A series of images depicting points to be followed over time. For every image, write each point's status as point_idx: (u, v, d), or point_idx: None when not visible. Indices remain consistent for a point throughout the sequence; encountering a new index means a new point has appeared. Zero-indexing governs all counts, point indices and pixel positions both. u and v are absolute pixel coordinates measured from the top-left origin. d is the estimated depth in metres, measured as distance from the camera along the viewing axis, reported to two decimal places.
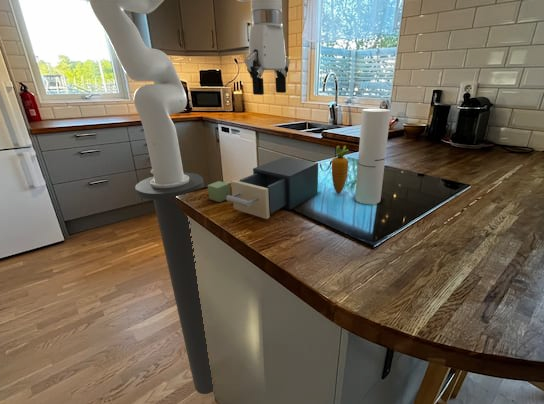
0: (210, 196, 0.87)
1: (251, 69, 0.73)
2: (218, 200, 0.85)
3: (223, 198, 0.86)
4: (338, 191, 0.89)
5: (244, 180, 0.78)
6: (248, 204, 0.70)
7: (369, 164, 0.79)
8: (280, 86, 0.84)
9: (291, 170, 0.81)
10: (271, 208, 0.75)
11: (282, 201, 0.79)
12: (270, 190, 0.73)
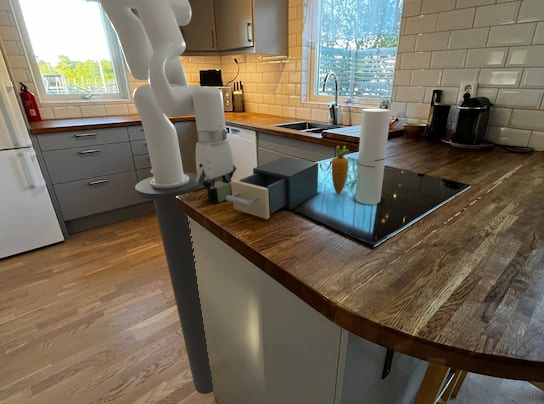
0: None
1: (204, 185, 0.82)
2: (218, 200, 0.85)
3: (223, 198, 0.86)
4: (338, 191, 0.89)
5: (244, 180, 0.78)
6: (248, 204, 0.70)
7: (369, 164, 0.79)
8: None
9: (291, 170, 0.81)
10: (271, 208, 0.75)
11: (282, 201, 0.79)
12: (270, 190, 0.73)
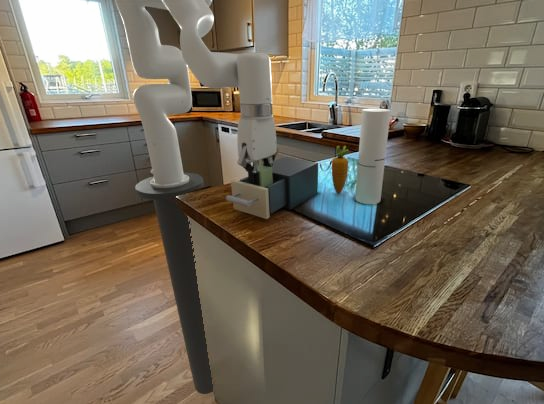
0: None
1: (247, 167, 0.71)
2: (260, 186, 0.75)
3: (266, 184, 0.76)
4: (338, 191, 0.89)
5: (244, 180, 0.78)
6: (248, 204, 0.70)
7: (369, 164, 0.79)
8: None
9: (291, 170, 0.81)
10: (271, 208, 0.75)
11: (282, 201, 0.79)
12: (270, 190, 0.73)
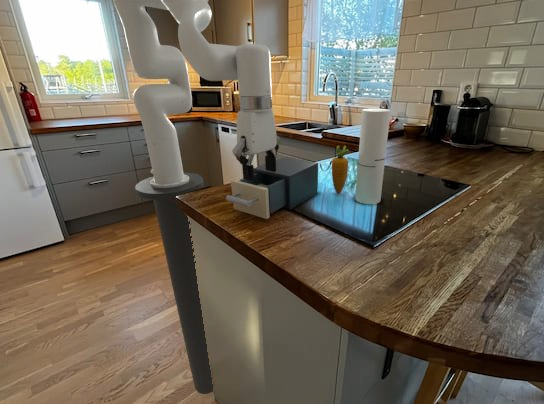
0: None
1: (240, 159, 0.68)
2: None
3: None
4: (338, 191, 0.89)
5: (244, 180, 0.78)
6: (248, 204, 0.70)
7: (369, 164, 0.79)
8: (270, 165, 0.79)
9: (291, 170, 0.81)
10: (271, 208, 0.75)
11: (282, 201, 0.79)
12: (270, 190, 0.73)
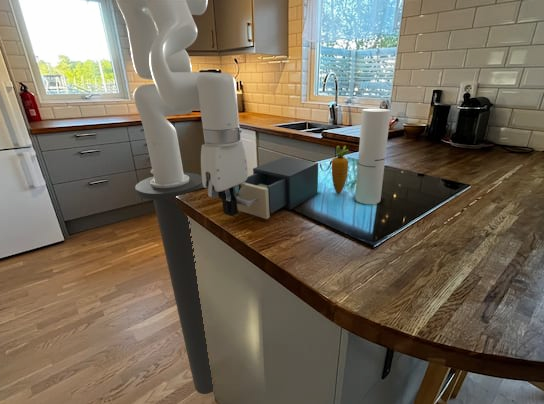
0: None
1: (220, 196, 0.66)
2: None
3: None
4: (338, 191, 0.89)
5: None
6: (248, 204, 0.70)
7: (369, 164, 0.79)
8: None
9: (291, 170, 0.81)
10: (271, 208, 0.75)
11: (282, 201, 0.79)
12: (270, 190, 0.73)
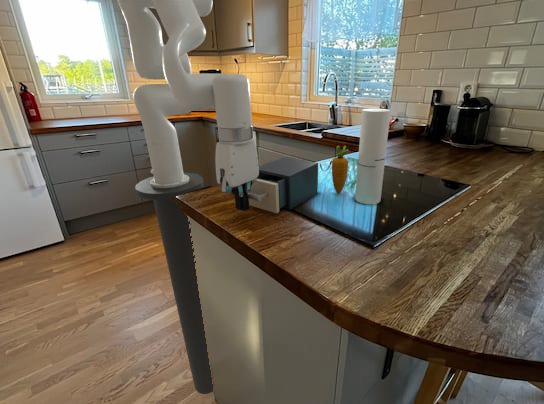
0: None
1: (233, 192, 0.69)
2: None
3: None
4: (338, 191, 0.89)
5: None
6: (259, 198, 0.73)
7: (369, 164, 0.79)
8: None
9: (291, 170, 0.81)
10: (281, 203, 0.78)
11: None
12: (280, 185, 0.76)
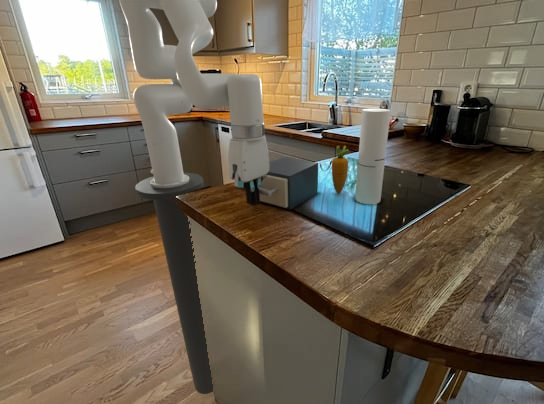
0: None
1: (245, 187, 0.72)
2: None
3: None
4: (338, 191, 0.89)
5: None
6: (269, 193, 0.76)
7: (369, 164, 0.79)
8: None
9: (291, 170, 0.81)
10: None
11: None
12: None
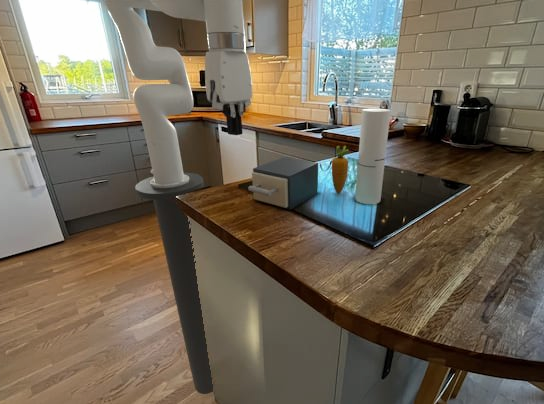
0: None
1: (224, 110, 0.64)
2: None
3: None
4: (338, 191, 0.89)
5: None
6: (269, 193, 0.76)
7: (369, 164, 0.79)
8: None
9: (291, 170, 0.81)
10: None
11: None
12: None
